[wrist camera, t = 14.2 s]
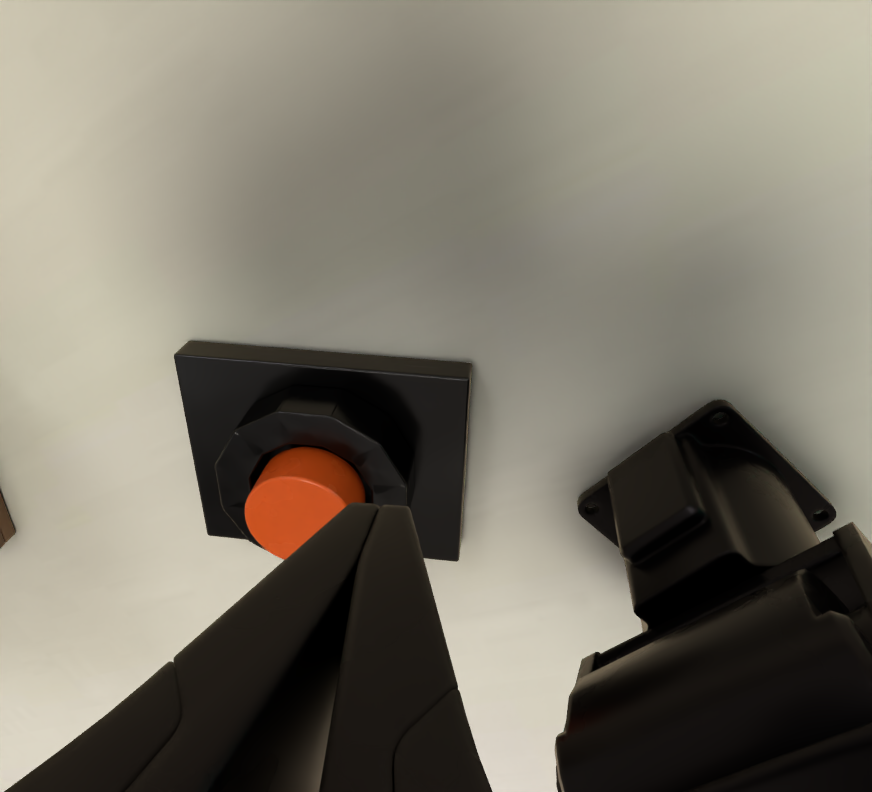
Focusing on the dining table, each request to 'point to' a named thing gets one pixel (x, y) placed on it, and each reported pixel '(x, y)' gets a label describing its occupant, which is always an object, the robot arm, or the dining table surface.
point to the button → (299, 497)
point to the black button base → (329, 428)
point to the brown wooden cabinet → (5, 524)
